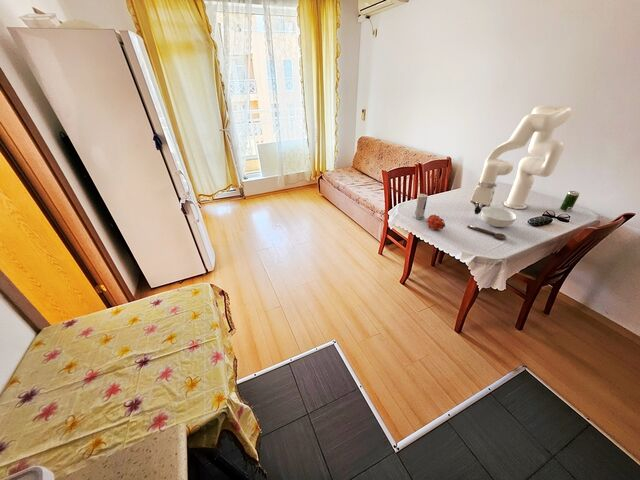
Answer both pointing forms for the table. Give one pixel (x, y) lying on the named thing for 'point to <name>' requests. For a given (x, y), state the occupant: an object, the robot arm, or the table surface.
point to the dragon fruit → (435, 222)
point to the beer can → (569, 201)
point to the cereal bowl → (498, 216)
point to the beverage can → (420, 206)
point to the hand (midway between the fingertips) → (476, 213)
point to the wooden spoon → (489, 232)
